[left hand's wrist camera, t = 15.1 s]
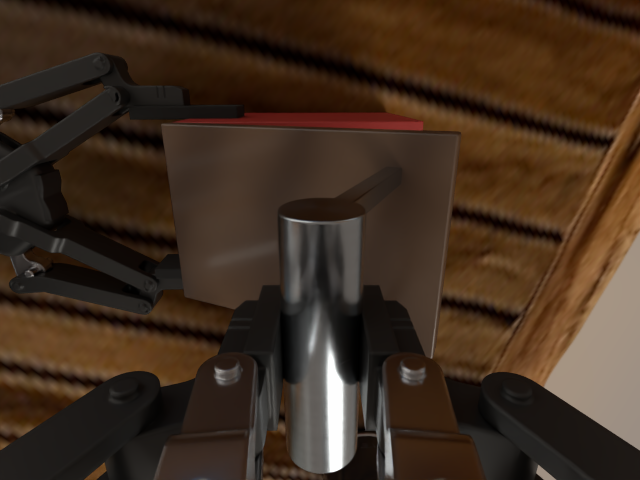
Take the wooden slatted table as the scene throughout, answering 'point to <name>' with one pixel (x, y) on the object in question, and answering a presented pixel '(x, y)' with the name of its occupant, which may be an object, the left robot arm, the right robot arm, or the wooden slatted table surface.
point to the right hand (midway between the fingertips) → (246, 193)
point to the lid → (315, 247)
